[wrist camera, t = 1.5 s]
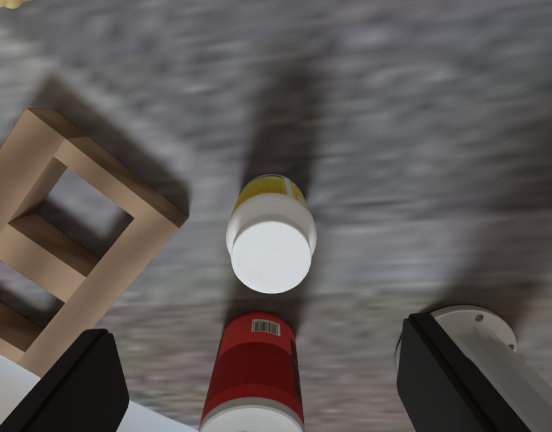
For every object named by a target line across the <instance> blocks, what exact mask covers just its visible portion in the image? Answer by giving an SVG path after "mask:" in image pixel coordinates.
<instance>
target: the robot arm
mask: <svg viewBox="0 0 552 432" xmlns="http://www.w3.org/2000/svg"><path fill="white" fill-rule="evenodd" d="M516 352H517V344H516V338H515V336H514V333H513V331H512V329H511V328H510V327H509V326H508V324H507V323H506V322H505V321H504V320H502V319H501V318H500V317H499V316H498V315H496V314H495V313H493V312H491V311H490V310H487V309H484V308H482V307H478V306H471V305H456V306H450V307H445V308H442V309H439V310H436V311H434V312H432V313H415V314H410V315H409V317H408V319H404V322H403V330H402V339H401V340H400V343H399V345H398V347H397V351H396V356H395V364H396V369H397V373H398V375H397V390H398V394H399V396H400V398H401V400H402V403H403V405H404V407H405V409H406V411H407V413H408V415H409V418H410V420H411V422H412V424H413V426H414V428H415V430H416V432H552V387H551V386H550V385H549V384H548V383H546V382H545V381H544V380H543V379H542V378H541V377H540V376H539V375H538V374H537V373H536V372H535V371H534V370H533V369H532V368H531V367H530V366H529V365H528V364H527V363H525V362H524V361H523V360H522V359H521V358H520V357H519V356H518V355H517V354H516ZM128 404H129V394H128V390H127V386H126V382H125V378H124V374H123V371H122V367H121V363H120V359H119V355H118V351H117V348H116V344H115V340H114V336H113V334H112V333H109V332H108V330H107V329H87V330H84V331H83V332H82V333H81V334H80V335H79V336H78V338H77V339H76V340H75V341H74V342H73V343H72V344H71V345H70V347H69V348H68V349H67V350H66V351H65V352H64V353H63V355H62V356H61V357H60V358H59V359H58V360H57V361H56V362H55V364H54V365H53V366H52V367H51V368H50V369H49V370H48V372H47V373H46V374H45V375H44V376H43V377H42V378H41V380H40V381H39V382H38V383H37V384H36V385H35V386H34V388H33V389H32V390H31V391H30V392H29V393H28V394H27V396H26V397H25V398H24V399H23V400H22V401H21V402H20V403H19V405H18V406H17V407H16V408H15V409H14V410H13V411H12V412H11V414H10V415H9V416H8V417H7V418H6V419H5V420H4V422H3V423H2V424H1V425H0V432H116V431H117V429H118V427H119V425H120V423H121V421H122V418H123V416H124V414H125V412H126V410H127V408H128Z"/></svg>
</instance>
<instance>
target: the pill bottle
mask: <svg viewBox="0 0 552 432" xmlns="http://www.w3.org/2000/svg"><path fill="white" fill-rule="evenodd" d="M316 241H317V232H316V226H315V223H314V220H313V217H312V215H311V213H310V210H309V208H308V205H307V203H306V201H305V199H304V196H303V194H302V192H301V191H300V189H299V188H298V186H297V185H296V184H295V183H294V182H292V181H291V180H290V179H288V178H286V177H284V176H281V175H276V174H267V175H262V176H259V177H257V178H255V179H253V180H252V181H250V182H249V183H248V184H247V185H246V186H245V187H244V189H243V190H242V191H241V193H240V195H239V197H238V200H237V202H236V205H235V207H234V210H233V212H232V215H231V217H230V220H229V222H228V226H227V231H226V243H227V248H228V251H229V253H230V256H231V262H232V267H233V269H234V272H235V274H236V275H237V277H238V278H239V279H240V280H241V281H242V282H243V283H244V284H245V285H246V286H248V287H249V288H251V289H253V290H256V291H259V292H263V293H281V292H284V291H287V290H289V289H291V288H293V287H295V286H296V285H298V284H299V283H300V282H301V281H302V280H303V279H304V277H305V276H306V274H307V273H308V271H309V268H310V265H311V259H312V255H313V253H314V250H315V247H316Z"/></svg>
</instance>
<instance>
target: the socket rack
mask: <svg viewBox="0 0 552 432" xmlns="http://www.w3.org/2000/svg"><path fill="white" fill-rule="evenodd" d="M67 167H69V168H70V169H71V170H73V171H74V172H75V173H76V174H78V175H79V176H80V177H82V178H83V179H84V180H86V181H87V182H88V183H90V184H91V185H92V186H94V187H95V188H96V189H97V190H99V191H100V192H101V193H103V194H104V195H105V196H107V197H108V198H109V199H111V200H112V201H113V202H114V203H116V204H117V205H118V206H120V207H121V208H122V209H124V210H125V211H126V212H128V213H129V214H130V215H131V216H133V217H134V220H133V221H132V222H131V223H130V224H129V226H128V227H127V228H126V229H125V231H124V232H123V233H122V234H121V236H120V237H119V238H118V239H117V240H116V242H115V243H114V244H113V245H112V247H111V248H110V249H109V250H108V251H107V253H106V254H105V255H104V256H103V258H102V259H99V258H98V257H97V256H95V255H94V254H92V253H91V252H89V251H88V250H87V249H85V248H84V247H82V246H81V245H80V244H78V243H77V242H75V241H74V240H73V239H71V238H70V237H68V236H67V235H65V234H64V233H63V232H61V231H60V230H58V229H57V228H56V227H54V226H53V225H51V224H50V223H49V222H47V221H46V220H44V219H43V218H41V217H40V216H39V215H37V214H36V213H35V212H36V211H37V209H38V208H39V207H40V205H41V204H42V202H43V201H44V199H45V198H46V197H47V195H48V194H49V192H50V191H51V190H52V188H53V187H54V185H55V184H56V183H57V181H58V180H59V178H60V177H61V175H62V174H63V173H64V171H65V170H66V168H67ZM188 218H189V217H188V216H187V215H185V214H184V213H183V212H182V211H181V210H179V209H178V208H177V207H176V206H174V205H173V204H172V203H171V202H169V201H168V200H167V199H166V198H164V197H163V196H162V195H161V194H159V193H158V192H157V191H156V190H154V189H153V188H152V187H151V186H149V185H148V184H147V183H146V182H144V181H143V180H142V179H141V178H139V177H138V176H137V175H136V174H134V173H133V172H132V171H131V170H129V169H128V168H127V167H126V166H124V165H123V164H122V163H121V162H119V161H118V160H117V159H116V158H114V157H113V156H112V155H111V154H110V153H108V152H107V151H106V150H105V149H103V148H102V147H101V146H100V145H98V144H97V143H96V142H95V141H93V140H92V139H91V138H90V137H88V136H87V135H86V134H85V133H83V132H82V131H81V130H80V129H78V128H77V127H76V126H75V125H73V124H72V123H71V122H70V121H68V120H67V119H66V118H65V117H63V116H62V115H61V114H60V113H58V112H57V111H56V110H52V109H35V108H26V109H25V111H24V112H23V114H22V116H21V117H20V119H19V120H18V122H17V123H16V125H15V127H14V128H13V130H12V131H11V133H10V135H9V136H8V138H7V139H6V141H5V143H4V144H3V146H2V147H1V149H0V262H1V261H2V262H4V263H5V264H7V265H8V266H10V267H11V268H13V269H14V270H16V271H17V272H19V273H20V274H22V275H23V276H25V277H27V278H28V279H30V280H31V281H33V282H34V283H36V284H37V285H39V286H40V287H42V288H43V289H45V290H46V291H48V292H50V293H51V294H53V295H54V296H56V297H57V298H59V299H60V300H62V301H63V302H65V304H64V305H63V307H62V308H61V309H60V310H59V312H58V313H57V314H56V315H55V316H54V318H53V319H52V320H51V321H50V323H49V324H48V325H47V326H46V327H45V329H43V328H41V327H39V326H38V325H36V324H35V323H33V322H31V321H30V320H28V319H27V318H25V317H23V316H22V315H20V314H18V313H17V312H15V311H14V310H12V309H10V308H9V307H7V306H6V305H4V304H2V303H1V302H0V354H1V355H3V356H5V357H6V358H8V359H9V360H11V361H13V362H15V363H16V364H18V365H20V366H22V367H23V368H25V369H27V370H29V371H30V372H32V373H34V374H35V375H37V376H39V377H40V378H42V377H43V376H44V375H45V374H46V373H47V372H48V370H49V369H50V368H51V367H52V366H53V365H54V364H55V362H56V361H57V360H58V359H59V358H60V357H61V356H62V355H63V353H64V352H65V351H66V350H67V349H68V348H69V347H70V345H71V344H72V343H73V342H74V341H75V340H76V339H77V338H78V336H79V335H80V334H81V333H82V332H83V331H84V330H87V329H92V328H93V327H94V325H95V324H96V323H97V322H98V321H99V320H100V319H101V317H102V316H103V315H104V314H105V313H106V312H107V311H108V309H109V308H110V307H111V306H112V305H113V304H114V303H115V301H116V300H117V299H118V298H119V297H120V296H121V294H122V293H123V292H124V291H125V290H126V289H127V288H128V286H129V285H130V284H131V283H132V282H133V281H134V280H135V278H136V277H137V276H138V275H139V274H140V273H141V272H142V270H143V269H144V268H145V267H146V266H147V265H148V264H149V262H150V261H151V260H152V259H153V258H154V257H155V255H156V254H157V253H158V252H159V251H160V250H161V249H162V247H163V246H164V245H165V244H166V243H167V242H168V241H169V239H170V238H171V237H172V236H173V235H174V234H175V233H176V231H177V230H178V229H179V228H180V227H181V226H182V225H183V223H184V222H185V221H186V220H187V219H188Z"/></svg>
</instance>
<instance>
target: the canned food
mask: <svg viewBox="0 0 552 432" xmlns="http://www.w3.org/2000/svg"><path fill="white" fill-rule="evenodd" d="M199 432H305V428H304V416H303V407H302V397H301V388H300V379H299V370H298V361H297V352H296V343H295V337H294V334H293V332H292V330H291V328H290V327H289V325H288V324H287V323H286V322H285V321H284V320H283V319H282V318H280V317H278V316H277V315H274V314H272V313H268V312H258V311H257V312H249V313H246V314H243V315H241V316H239V317H237V318H236V319H234V320H233V321H232V322H231V323H230V324H229V325H228V326H227V328H226V329H225V331H224V332H223V334H222V337H221V340H220V344H219V348H218V353H217V357H216V361H215V365H214V369H213V373H212V377H211V381H210V385H209V389H208V393H207V397H206V401H205V405H204V409H203V413H202V418H201V423H200V427H199Z"/></svg>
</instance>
